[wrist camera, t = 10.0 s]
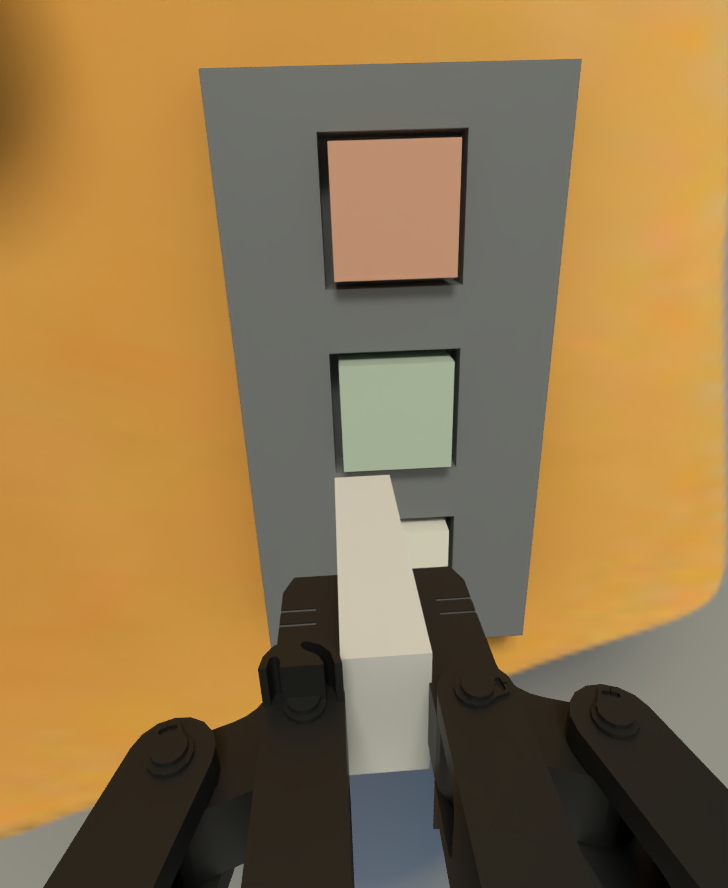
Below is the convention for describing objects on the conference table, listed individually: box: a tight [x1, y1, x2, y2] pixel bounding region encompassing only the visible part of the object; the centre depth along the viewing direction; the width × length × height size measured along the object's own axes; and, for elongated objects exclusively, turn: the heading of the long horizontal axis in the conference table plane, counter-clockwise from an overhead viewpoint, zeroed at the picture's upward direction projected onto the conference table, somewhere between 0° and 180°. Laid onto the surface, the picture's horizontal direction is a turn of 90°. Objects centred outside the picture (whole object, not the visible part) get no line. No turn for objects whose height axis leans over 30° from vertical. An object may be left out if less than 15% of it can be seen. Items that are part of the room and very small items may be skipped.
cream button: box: [400, 517, 449, 569], centre depth 29 cm, size 5×5×2 cm
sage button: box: [338, 350, 455, 472], centre depth 25 cm, size 5×5×2 cm
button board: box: [199, 59, 582, 648], centre depth 26 cm, size 14×27×2 cm, turn 2°
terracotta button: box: [327, 137, 462, 282], centre depth 22 cm, size 5×5×2 cm
